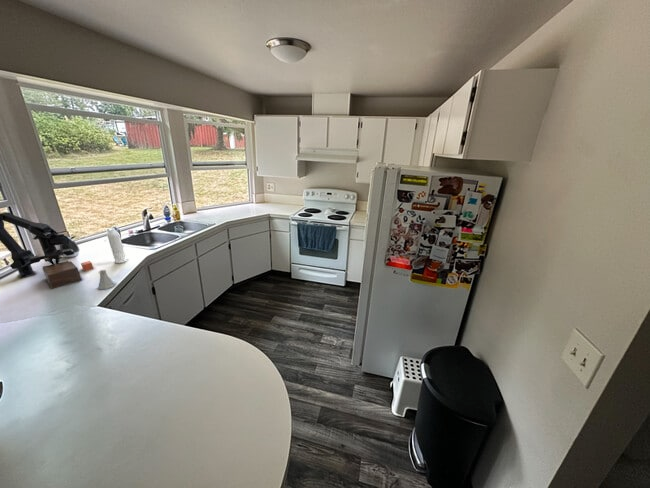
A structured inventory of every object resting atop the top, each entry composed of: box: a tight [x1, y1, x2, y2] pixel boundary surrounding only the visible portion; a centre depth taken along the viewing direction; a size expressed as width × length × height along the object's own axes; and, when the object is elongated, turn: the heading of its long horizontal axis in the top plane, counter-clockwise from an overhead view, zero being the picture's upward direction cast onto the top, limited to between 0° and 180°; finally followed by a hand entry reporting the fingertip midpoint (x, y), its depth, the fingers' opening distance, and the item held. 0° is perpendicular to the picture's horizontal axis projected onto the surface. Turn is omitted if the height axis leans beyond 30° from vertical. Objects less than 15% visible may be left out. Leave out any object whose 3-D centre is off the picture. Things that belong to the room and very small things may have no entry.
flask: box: [97, 269, 116, 290], centre depth 144 cm, size 7×7×10 cm
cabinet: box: [41, 260, 83, 289], centre depth 150 cm, size 15×13×9 cm
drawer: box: [42, 260, 70, 268], centre depth 154 cm, size 18×11×7 cm, turn 54°
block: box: [80, 260, 94, 272], centre depth 165 cm, size 4×4×4 cm
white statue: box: [106, 227, 127, 264], centre depth 173 cm, size 9×6×25 cm
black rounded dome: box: [58, 235, 81, 258], centre depth 182 cm, size 10×10×15 cm
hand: (56, 268), depth 158 cm, fingers closed, pressing on drawer
